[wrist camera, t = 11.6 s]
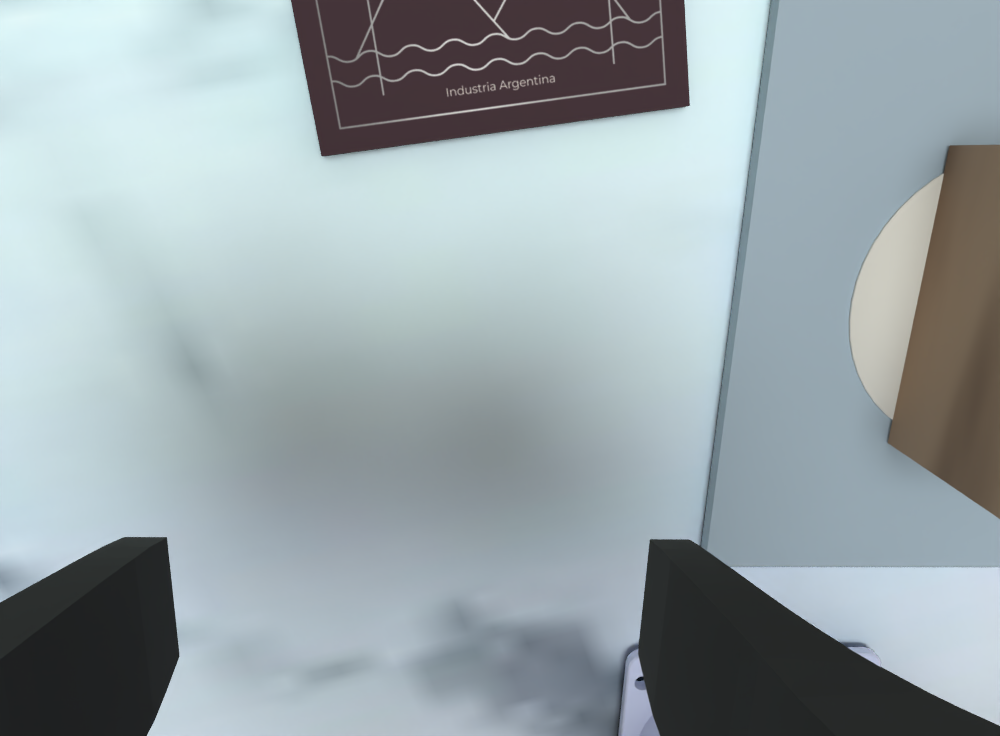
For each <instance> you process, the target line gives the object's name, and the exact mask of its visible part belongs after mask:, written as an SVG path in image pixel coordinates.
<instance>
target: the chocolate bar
mask: <svg viewBox="0 0 1000 736" xmlns="http://www.w3.org/2000/svg"><path fill="white" fill-rule="evenodd" d="M291 2H292V7H293V12H294V18H295V23H296V28H297V33H298V38H299V43H300V48H301V53H302V58H303V64H304V69H305V74H306V79H307V84H308V89H309V94H310V99H311V104H312V110H313V115H314V120H315V125H316V130H317V135H318V140H319V145H320V150H321V156H329V155H337V154H344V153H351V152H359V151H366V150H373V149H380V148H388V147H395V146H402V145H410V144H417V143H424V142H432V141H439V140H446V139H453V138H461V137H468V136H475V135H483V134H490V133H497V132H504V131H512V130H519V129H526V128H534V127H541V126H548V125H555V124H563V123H570V122H577V121H585V120H592V119H599V118H606V117H614V116H621V115H628V114H636V113H643V112H650V111H657V110H665V109H672V108H679V107H686V106H690V103H689V84H688V64H687V44H686V25H685V5H684V0H291Z"/></svg>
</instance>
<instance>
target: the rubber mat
mask: <svg viewBox="0 0 1000 736" xmlns="http://www.w3.org/2000/svg"><path fill="white" fill-rule="evenodd" d="M950 145H1000V0H771V6H770V14H769V22H768V30H767V38H766V45H765V53H764V61H763V69H762V76H761V84H760V92H759V100H758V107H757V115H756V123H755V131H754V139H753V146H752V154H751V162H750V170H749V177H748V185H747V193H746V201H745V208H744V216H743V224H742V232H741V240H740V247H739V255H738V263H737V271H736V278H735V286H734V294H733V302H732V309H731V317H730V325H729V333H728V340H727V348H726V356H725V364H724V372H723V379H722V387H721V395H720V403H719V410H718V418H717V426H716V434H715V441H714V449H713V457H712V465H711V473H710V480H709V488H708V496H707V504H706V511H705V519H704V527H703V535H702V542H701V547H702V548H704V549H705V550H706V551H708V552H709V553H711V554H712V555H714V556H715V557H716V558H718V559H719V560H721V561H722V562H723V563H725V564H726V565H727V566H729V567H1000V519H999V518H997V517H996V516H995V515H993V514H992V513H990V512H989V511H987V510H986V509H984V508H983V507H981V506H980V505H978V504H977V503H975V502H974V501H972V500H971V499H969V498H968V497H967V496H965V495H964V494H962V493H961V492H959V491H958V490H956V489H955V488H953V487H952V486H950V485H949V484H947V483H946V482H944V481H943V480H941V479H940V478H939V477H937V476H936V475H934V474H933V473H931V472H930V471H928V470H927V469H925V468H924V467H922V466H921V465H919V464H918V463H916V462H915V461H913V460H912V459H911V458H909V457H908V456H906V455H905V454H903V453H902V452H900V451H899V450H897V449H896V448H894V447H893V446H891V445H890V444H888V439H889V434H890V430H891V425H892V420H893V416H894V411H895V407H896V402H897V397H898V392H899V387H900V383H901V378H902V373H903V368H904V364H905V359H906V354H907V349H908V344H909V340H910V335H911V330H912V325H913V320H914V316H915V311H916V306H917V301H918V296H919V292H920V287H921V282H922V277H923V272H924V268H925V263H926V258H927V253H928V248H929V244H930V239H931V234H932V229H933V224H934V220H935V215H936V210H937V205H938V200H939V196H940V191H941V186H942V181H943V176H944V170H945V165H946V160H947V155H948V151H949V146H950Z"/></svg>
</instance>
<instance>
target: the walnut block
mask: <svg viewBox="0 0 1000 736" xmlns="http://www.w3.org/2000/svg"><path fill="white" fill-rule="evenodd" d="M888 444H890V445H891V446H893V447H894V448H896V449H897V450H899V451H900V452H902V453H903V454H905V455H906V456H908V457H909V458H911V459H912V460H913V461H915V462H916V463H918V464H919V465H921V466H922V467H924V468H925V469H927V470H928V471H930V472H931V473H933V474H934V475H936V476H937V477H939V478H940V479H941V480H943V481H944V482H946V483H947V484H949V485H950V486H952V487H953V488H955V489H956V490H958V491H959V492H961V493H962V494H964V495H965V496H967V497H968V498H969V499H971V500H972V501H974V502H975V503H977V504H978V505H980V506H981V507H983V508H984V509H986V510H987V511H989V512H990V513H992V514H993V515H995V516H996V517H997V518H999V519H1000V145H950V146H949V151H948V155H947V160H946V165H945V170H944V176H943V181H942V186H941V191H940V196H939V200H938V205H937V210H936V215H935V220H934V224H933V229H932V234H931V239H930V244H929V248H928V253H927V258H926V263H925V268H924V272H923V277H922V282H921V287H920V292H919V296H918V301H917V306H916V311H915V316H914V320H913V325H912V330H911V335H910V340H909V344H908V349H907V354H906V359H905V364H904V368H903V373H902V378H901V383H900V387H899V392H898V397H897V402H896V407H895V411H894V416H893V420H892V425H891V430H890V434H889V439H888Z"/></svg>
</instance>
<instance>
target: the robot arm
mask: <svg viewBox="0 0 1000 736" xmlns="http://www.w3.org/2000/svg"><path fill="white" fill-rule="evenodd" d="M178 658H179V648H178V638H177V629H176V619H175V610H174V601H173V591H172V582H171V572H170V563H169V554H168V544H167V537H124V538H121V539H119V540H117V541H114V542H112V543H110V544H108V545H106V546H104V547H102V548H100V549H98V550H96V551H94V552H92V553H90V554H88V555H86V556H84V557H82V558H81V559H79V560H77V561H75V562H73V563H71V564H70V565H68V566H66V567H64V568H62V569H61V570H59V571H57V572H55V573H53V574H51V575H50V576H48V577H46V578H44V579H42V580H41V581H39V582H37V583H35V584H33V585H31V586H30V587H28V588H26V589H24V590H22V591H21V592H19V593H17V594H15V595H13V596H11V597H10V598H8V599H6V600H4V601H2V602H1V603H0V736H147V734H148V732H149V730H150V728H151V726H152V724H153V722H154V720H155V718H156V715H157V713H158V711H159V708H160V706H161V703H162V701H163V698H164V696H165V693H166V691H167V688H168V685H169V683H170V680H171V677H172V675H173V672H174V669H175V666H176V664H177V661H178ZM641 676H643V678H644V680H643V681H635V680H636V679H637V678H638V677H641ZM618 736H1000V726H999V725H996V724H994V723H992V722H990V721H988V720H985V719H983V718H981V717H979V716H977V715H974V714H972V713H970V712H968V711H965V710H963V709H961V708H959V707H957V706H955V705H953V704H951V703H949V702H947V701H945V700H943V699H941V698H938V697H936V696H934V695H932V694H930V693H928V692H926V691H925V690H923V689H921V688H919V687H917V686H915V685H913V684H912V683H910V682H908V681H906V680H904V679H902V678H900V677H898V676H897V675H895V674H893V673H891V672H889V671H887V670H885V669H884V668H882V667H881V661H880V659H879V657H878V656H877V655H876V654H875V652H874V651H873V650H871V649H870V648H866V647H846V646H844V645H843V644H841V643H840V642H838V641H836V640H835V639H833V638H832V637H830V636H828V635H827V634H825V633H824V632H822V631H821V630H819V629H817V628H816V627H814V626H813V625H811V624H810V623H808V622H807V621H805V620H804V619H802V618H801V617H799V616H798V615H796V614H795V613H793V612H792V611H790V610H789V609H787V608H786V607H785V606H783V605H782V604H780V603H779V602H777V601H776V600H775V599H773V598H772V597H770V596H769V595H767V594H766V593H765V592H763V591H762V590H760V589H759V588H758V587H756V586H755V585H754V584H752V583H751V582H749V581H748V580H747V579H745V578H744V577H743V576H741V575H740V574H738V573H737V572H736V571H734V570H733V569H732V568H730V567H729V566H727V565H726V564H725V563H723V562H722V561H721V560H719V559H718V558H716V557H715V556H714V555H712V554H711V553H709V552H708V551H706V550H705V549H704V548H702V547H700V546H699V545H697V544H696V543H694V542H692V541H691V540H658V539H650V544H649V554H648V563H647V573H646V582H645V591H644V601H643V610H642V620H641V629H640V639H639V648H638V649H636V650H634V651H633V652H631V653H630V654H629V656H628V657H627V660H626V665H625V675H624V684H623V694H622V704H621V714H620V724H619V734H618Z"/></svg>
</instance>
